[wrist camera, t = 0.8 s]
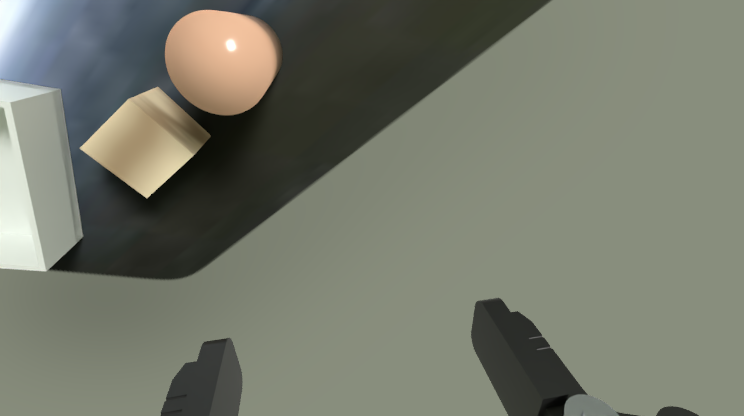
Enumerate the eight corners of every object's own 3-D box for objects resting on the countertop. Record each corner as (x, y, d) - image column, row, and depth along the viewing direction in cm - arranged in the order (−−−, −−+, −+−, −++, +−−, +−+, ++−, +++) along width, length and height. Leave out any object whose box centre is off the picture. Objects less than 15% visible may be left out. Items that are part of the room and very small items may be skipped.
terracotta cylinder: (202, 63, 27) (150, 82, 18) (230, -1, 25) (187, -15, 16) (264, 98, 29) (244, 132, 20) (294, 41, 27) (286, 49, 18)
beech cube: (211, 135, 29) (193, 155, 25) (170, 173, 30) (146, 198, 26) (158, 86, 27) (129, 98, 23) (115, 128, 28) (79, 148, 24)
